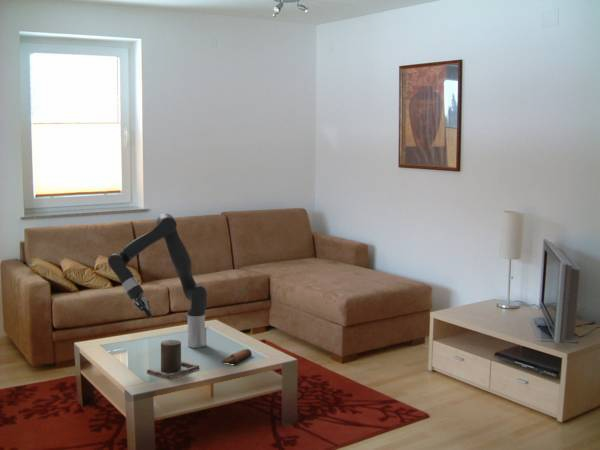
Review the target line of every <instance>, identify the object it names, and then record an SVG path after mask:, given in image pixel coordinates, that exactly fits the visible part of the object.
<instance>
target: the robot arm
mask: <svg viewBox="0 0 600 450" xmlns="http://www.w3.org/2000/svg"><path fill="white" fill-rule="evenodd" d="M161 239H164V241H165V244H166V247H167V251H168V253H169V257H170V259H171V262H172V265H173V267H174V269H175V271H176V273H177V276H178V278H179V281H180V283H181V287H182V290H183V294H184V296H185V298H186V299H187V300H188V301H189V302H191V304H190V305H191V306H190V308H188V309H187V347H189V348H193V349H199V348H200V349H201V348H203V347H205V346H207V343H208V342H207V340H208V339H207V336H208V335H207V333H208V332H207V331H208V330H207V328H206V317H205V316H206V315H205V314H206V309H207V303H208V302H207V299H208V298H207V297H208V294H207V289H206V288H205V287H204V286H202V285H200V284H197V283H196V281H195V279H194V277H193V274H192V267H193V266H192V259H191V257H190V255H189V252H188V251H187V248H186V246H185V244H184V243H183V241H182V239H181V238H180V236H179V233H178V230H177V222H176V219H175V218H174V217H173V216H172V215H171V214H169V213H161V214H159V216H158V217H157V219H156V226H155V227H154V228H153V229H151V230H150V231H148V232H146V233H145V234H143V235H140V236H138V237H137V238H135V239H134V240H132V241H131V242H129V243H128V244H127V245H126V246H124V247H123V249H122V251H121V252H120V253H112V254H111V255H109V256H108V259H107V264H108V266H109V267H110V269H111V270H112V271H113V273H114V274H115V275H116V276H117V278H118V280H119V282H120V283H121V285H122V287H123V290H124V291H125V292H126V294H127V296H128V298H129V299H130V300H131V301H134V302H135V303H134V305H135V306H136V307H137V308H138V309H139V310H140V311H141V312H143V313H145V315H146V317H147V318H148V319H152V317H153V316H154V315H153V313H152V312H151V306H150V302H149V300H147V299H146V298H145V297H144V295H143V294H144V293H145V291H144V289H143V287H142V286H141V284H140V282H139V281H138V280H137V279H136V277H135V275H134V274H133V273H132V271H131V270H130V269H129V268H128V266H127V265H128V264H129V262H130V261H131V260H133V259H134V258H135V257H137V256H138V255H140V253H142V252H143V251H144V250H146V249H147V248H148V247H150V246H151V245H154V244H155V243H156V242H158V241H159V240H161Z"/></svg>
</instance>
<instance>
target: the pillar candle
mask: <svg viewBox="0 0 600 450" xmlns="http://www.w3.org/2000/svg"><path fill="white" fill-rule="evenodd" d="M181 361H182V341H180V340H178V339H168V340H167V339H166V340H162V341H161V342H160V372H163V373H166V374H175V373H177V372H180V371H182V366H181Z"/></svg>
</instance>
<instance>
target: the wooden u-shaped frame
mask: <svg viewBox="0 0 600 450" xmlns="http://www.w3.org/2000/svg"><path fill="white" fill-rule="evenodd" d="M181 367H185V369H183V370H180V371H179V372H175V373H165V372H162V371H158V370H154V369H150V368H148V369H146V374H150V375H154V376H157V377H162V378H165V379H168V380H173V379H172V378H174V379H176V378H178V376H179V377H181V376H180V375H182V376H184V375H186V373H187V374H190V373H191V371H192V372H194V370H195V371H197V370H199V369H200V365H197V364H194V363H190V362H186V361H183V360H181ZM186 367H187V368H186ZM196 369H197V370H196ZM183 374H184V375H183ZM175 377H176V378H175Z"/></svg>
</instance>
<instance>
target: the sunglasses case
mask: <svg viewBox="0 0 600 450" xmlns="http://www.w3.org/2000/svg"><path fill="white" fill-rule="evenodd" d="M250 355H251V356H252V355H253V354H252V351H251V349H249V348H248V349H241V350H238V351H237V352H234V353H232V354H230V356H227V358H225V359H224V360H222V362H221V364H222V363H229V364H236V365H237V364H239V363H240V362H241V361H243V360H244V359H246V358H249V357H250ZM238 362H239V363H238Z"/></svg>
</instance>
